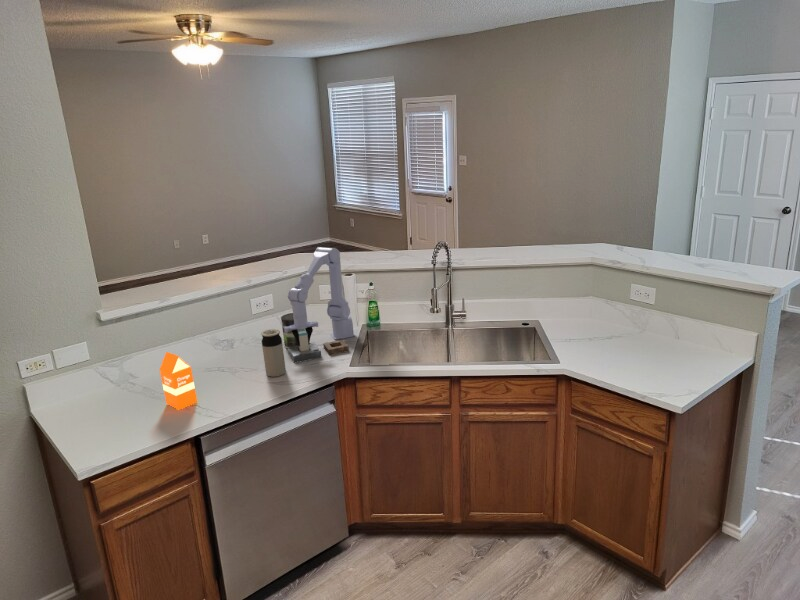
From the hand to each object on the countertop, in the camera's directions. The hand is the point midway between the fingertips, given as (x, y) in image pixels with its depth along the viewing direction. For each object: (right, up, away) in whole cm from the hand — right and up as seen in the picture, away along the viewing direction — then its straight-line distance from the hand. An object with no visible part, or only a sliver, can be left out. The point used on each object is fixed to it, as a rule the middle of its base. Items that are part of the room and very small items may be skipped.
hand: (303, 344), depth 251 cm
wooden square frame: (+14, -3, +5) cm, 15 cm away
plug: (0, -3, +1) cm, 4 cm away
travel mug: (-9, -11, -15) cm, 21 cm away
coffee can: (-6, -1, +15) cm, 16 cm away
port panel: (0, -5, +1) cm, 5 cm away
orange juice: (-39, -19, -37) cm, 57 cm away
